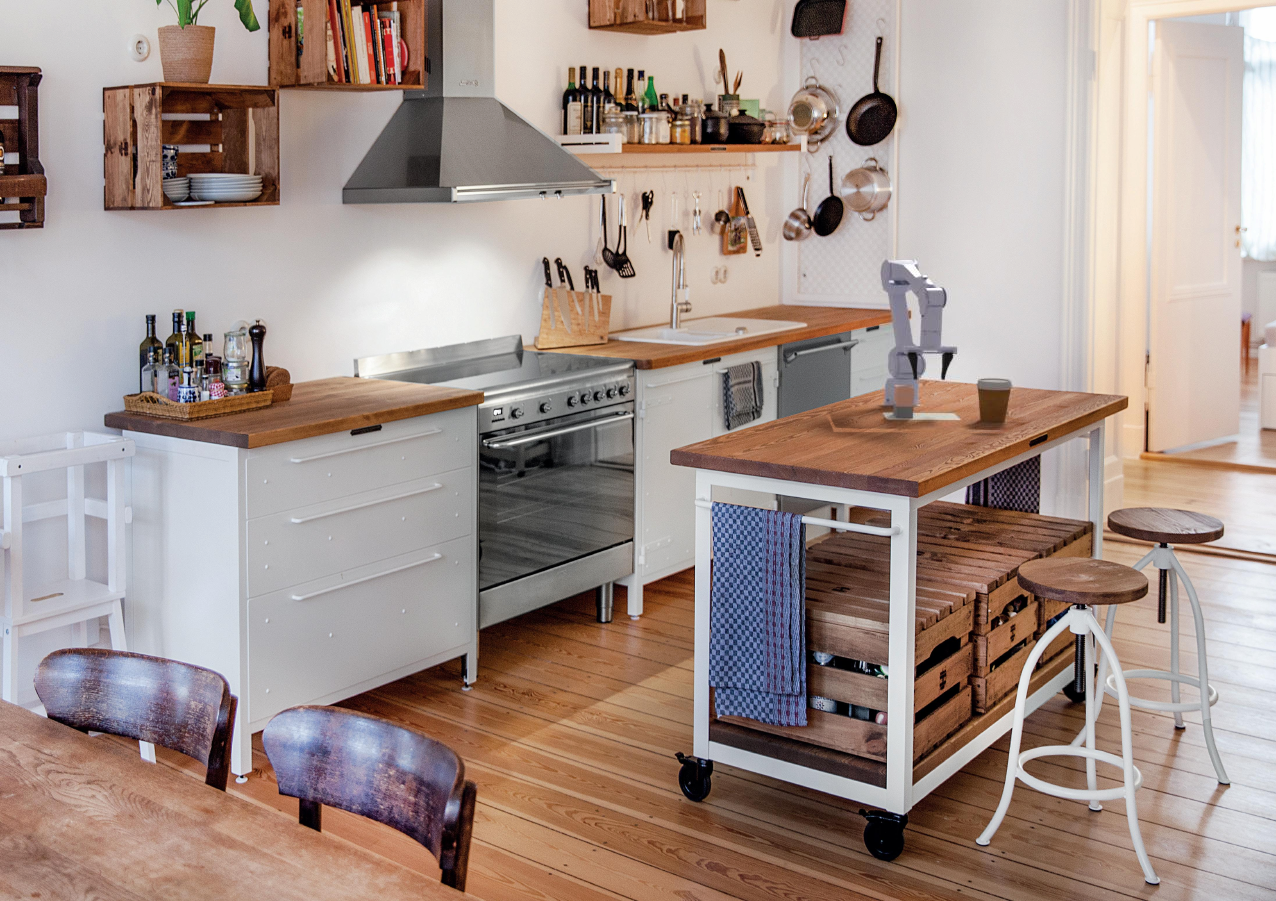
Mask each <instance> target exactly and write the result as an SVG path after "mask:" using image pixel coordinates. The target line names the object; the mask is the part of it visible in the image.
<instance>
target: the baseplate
mask: <svg viewBox="0 0 1276 901" xmlns="http://www.w3.org/2000/svg"><path fill="white" fill-rule="evenodd" d="M882 415H883V416H884V418H885V419H886V420H887V421H888V420H892V421H898V420H899V421H900V420H902V421H904V420H905V421H907V420H908V421H909V420H910V421H962V419H961V418H960V417H959V416H958V415H957V414H955V413H954V412H953V413H952V412H951V413H950V412H947V413H946V412H945V413H944V412H943V413H942V412H913V418H896V417H895V416H894V414H893V412H882Z"/></svg>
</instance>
